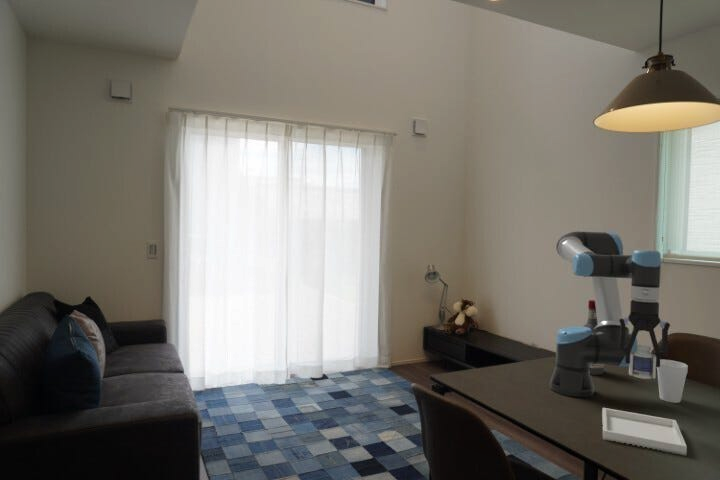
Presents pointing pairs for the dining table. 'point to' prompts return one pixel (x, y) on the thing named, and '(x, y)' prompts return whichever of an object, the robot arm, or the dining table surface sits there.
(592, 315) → the liquor
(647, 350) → the pill bottle
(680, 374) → the foam cup
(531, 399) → the dining table surface
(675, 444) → the tray
